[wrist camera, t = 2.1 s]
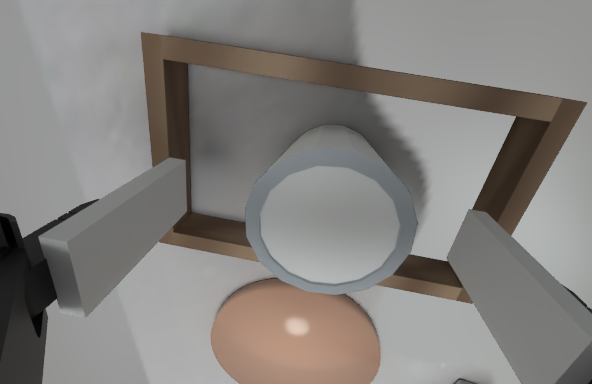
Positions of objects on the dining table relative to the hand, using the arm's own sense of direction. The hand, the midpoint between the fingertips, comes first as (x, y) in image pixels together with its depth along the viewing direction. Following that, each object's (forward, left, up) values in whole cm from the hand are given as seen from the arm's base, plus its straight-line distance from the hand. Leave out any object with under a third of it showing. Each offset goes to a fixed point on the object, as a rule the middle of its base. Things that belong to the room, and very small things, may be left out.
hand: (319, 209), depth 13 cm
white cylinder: (0, 0, -5) cm, 5 cm away
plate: (0, +16, -5) cm, 16 cm away
